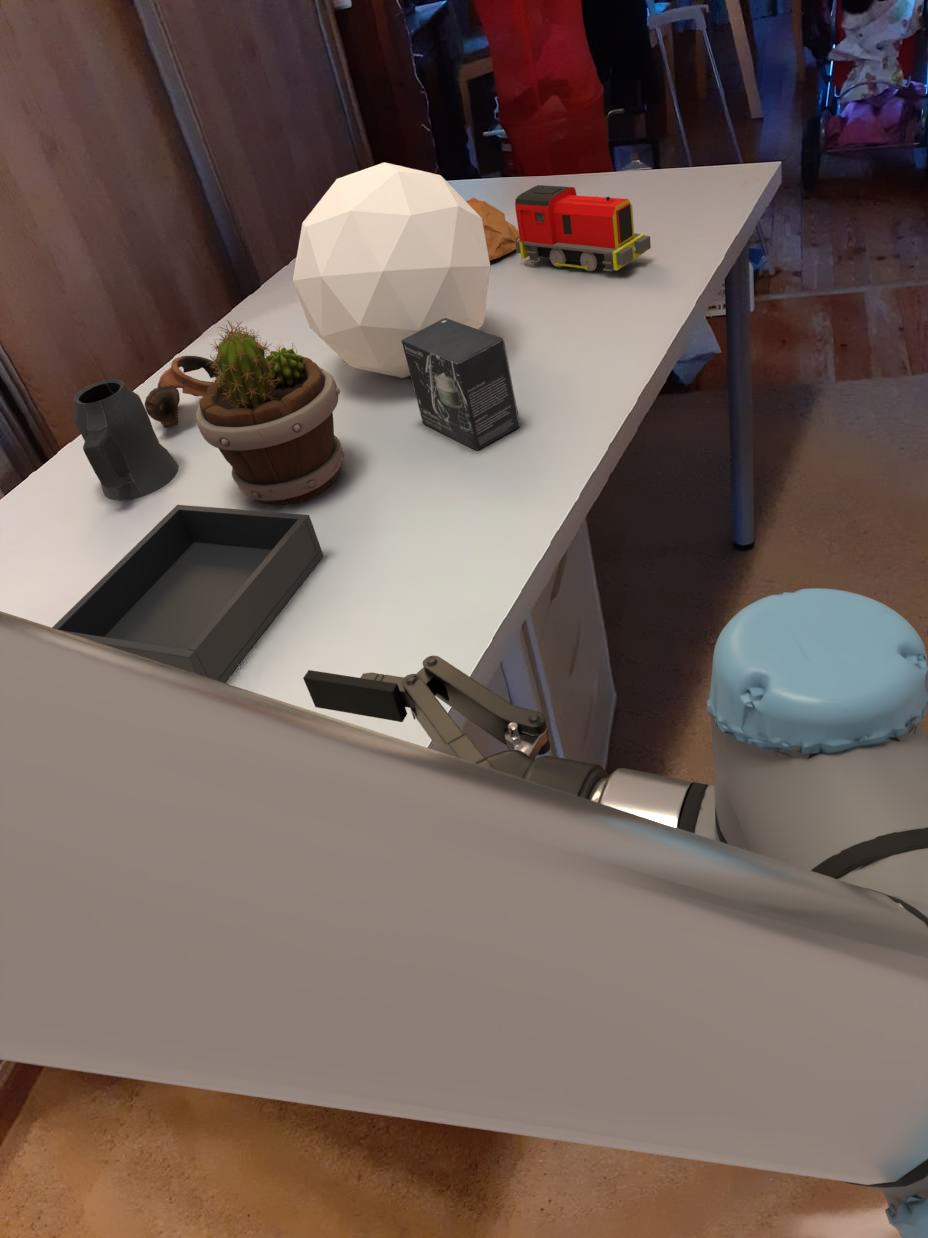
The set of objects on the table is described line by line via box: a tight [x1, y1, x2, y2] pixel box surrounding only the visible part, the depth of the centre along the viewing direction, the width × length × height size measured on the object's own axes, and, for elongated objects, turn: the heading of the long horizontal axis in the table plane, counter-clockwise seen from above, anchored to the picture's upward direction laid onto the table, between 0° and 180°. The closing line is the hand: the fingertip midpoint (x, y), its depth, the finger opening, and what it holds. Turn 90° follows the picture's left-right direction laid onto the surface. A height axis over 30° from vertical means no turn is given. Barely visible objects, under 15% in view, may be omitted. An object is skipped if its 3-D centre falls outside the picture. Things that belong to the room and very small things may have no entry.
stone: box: [465, 197, 520, 262], centre depth 143 cm, size 15×15×10 cm
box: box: [401, 318, 521, 451], centre depth 99 cm, size 11×7×10 cm, turn 37°
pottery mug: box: [144, 355, 219, 428], centre depth 116 cm, size 12×10×8 cm
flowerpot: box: [195, 320, 345, 506], centre depth 94 cm, size 14×15×20 cm
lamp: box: [292, 161, 491, 379], centre depth 116 cm, size 23×35×24 cm, turn 0°
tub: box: [51, 504, 324, 683], centre depth 83 cm, size 20×16×5 cm
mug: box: [73, 378, 179, 501], centre depth 103 cm, size 12×9×11 cm
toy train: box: [514, 184, 652, 272], centre depth 130 cm, size 7×19×10 cm, turn 47°
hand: (257, 767), depth 55 cm, fingers open, 13 cm apart
